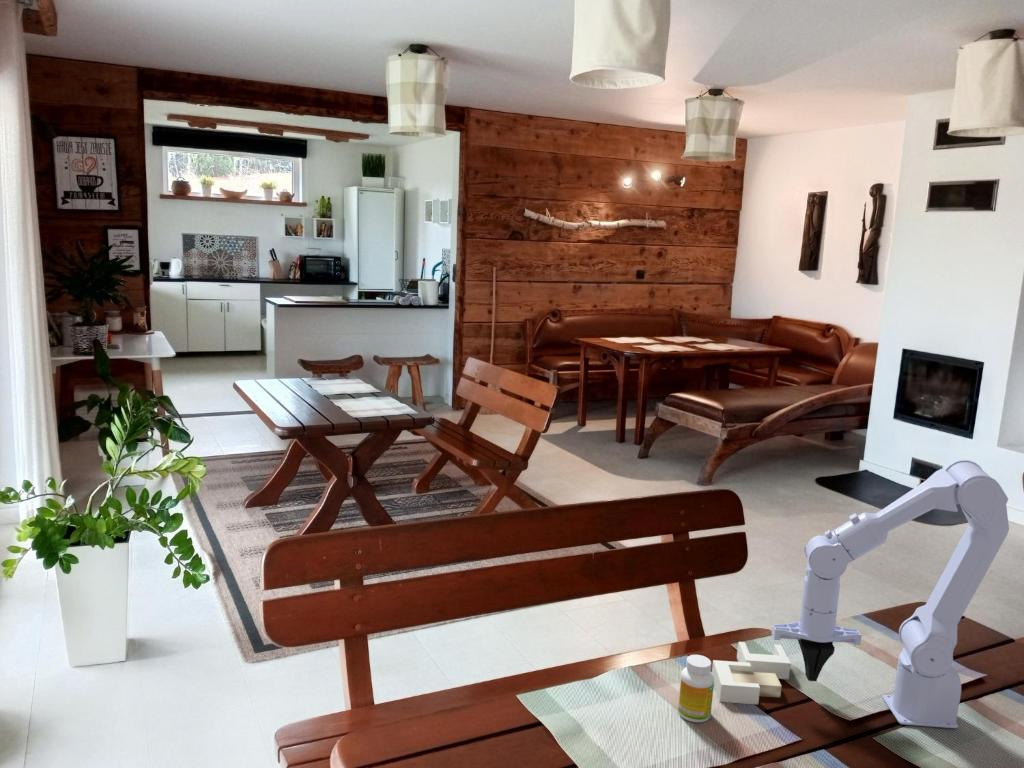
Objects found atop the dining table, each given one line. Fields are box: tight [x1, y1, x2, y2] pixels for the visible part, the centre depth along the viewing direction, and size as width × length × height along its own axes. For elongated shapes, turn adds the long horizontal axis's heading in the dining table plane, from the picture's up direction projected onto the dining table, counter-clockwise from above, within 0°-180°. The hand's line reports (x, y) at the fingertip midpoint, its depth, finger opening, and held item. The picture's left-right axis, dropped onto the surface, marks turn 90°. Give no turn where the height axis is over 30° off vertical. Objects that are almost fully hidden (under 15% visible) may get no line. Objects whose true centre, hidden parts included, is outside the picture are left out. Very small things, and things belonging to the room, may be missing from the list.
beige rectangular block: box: [731, 671, 782, 698], centre depth 143 cm, size 8×4×2 cm, turn 88°
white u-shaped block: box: [736, 641, 791, 680], centre depth 149 cm, size 6×8×3 cm
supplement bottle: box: [677, 654, 715, 723], centre depth 134 cm, size 5×5×10 cm
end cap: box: [711, 659, 760, 705], centre depth 142 cm, size 6×8×3 cm
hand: (810, 678), depth 141 cm, fingers closed
